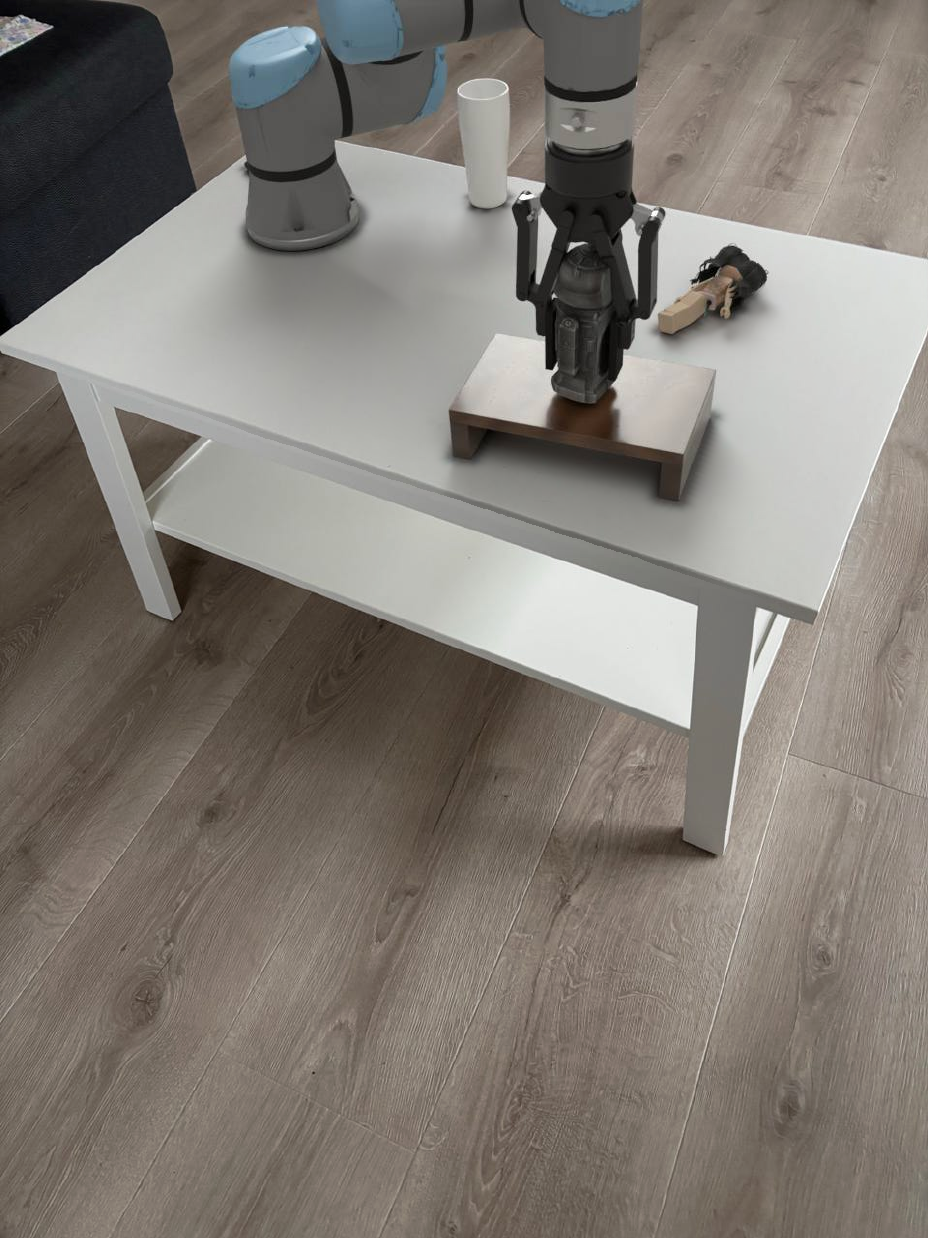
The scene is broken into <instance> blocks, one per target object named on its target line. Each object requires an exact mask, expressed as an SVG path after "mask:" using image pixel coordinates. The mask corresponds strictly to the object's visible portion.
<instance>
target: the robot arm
mask: <svg viewBox="0 0 928 1238" xmlns="http://www.w3.org/2000/svg"><path fill="white" fill-rule="evenodd" d="M643 5H644V0H316V6H317V12H318V16H319V21H320V24H321V26H322V28H323V32H324V36H325V37H321V38H320V37H319V36H318V34H317V32H316V31H315V30H314V29H313V28H310V27H308V26H304V25H294V26H292V27H289V26H287V25H285V26H281V27H276V28H272V29H269V30H266V31H263V32H261V33H258V34H256V35H254V36H252V37H250V38H248V39H247V40H246V41H245V42H243V43H242V44H241V45H239V47H238V48H237V49H236V50H235V51H234V52H233V53H232V55H231V56H230V59H229V62H228V76H229V83H230V90H231V91H230V92H231V101H232V104H233V105H234V107H235V112H236V117H237V122H238V126H239V131H240V135H241V139H242V145H243V149H244V155H245V159H246V161H245V162H244V164H243V165H244V168H246V169H247V170H248V173H249V178H248V188H247V189H248V190H247V205H246V209H245V223H246V227H247V231H248V234H249V236H250V238H251V239H252V240H253V241H254V242H256V243H257V244H259V245H261V246H263V247H266V248H269V249H274V250H278V251H287V252H288V251H290V252H293V251H306V250H312V249H317V248H322V247H324V246H327V245H330V244H333V243H335V242H337V241H339V240H341V239H343V238H345V237H346V236H348V235H349V234H350V233H351V232H352V231H353V230H354V229H355V228H356V226H357V225H358V222H359V220H360V213H359V206H358V202H357V201H358V200H357V199H356V196H355V193H354V192H353V190H352V187H351V186H350V183H349V182H348V179H347V177H346V175H345V173H344V172H343V170H342V168H341V166H340V164H339V161H338V157H337V151H336V141H337V140H340V139H341V140H342V139H344V138H348V137H349V138H350V137H353V136H357V135H362V134H366V133H371V132H374V131H379V130H383V129H388V128H391V127H396V126H400V125H404V126H405V125H410V124H413V123H414V122H415V121H417V120H421V119H424V118H428V117H429V116H431V115H433V114H435V113H436V111H438V109H439V108H440V106H441V104H442V102H443V100H444V98H445V93H446V88H447V79H448V65H447V61H446V59H445V56H446V47H445V46H448V45H451V44H455V43H460V42H467V41H471V40H476V39H481V38H484V37H489V36H494V35H497V34H502V33H506V32H510V31H516V30H519V29H527V30H529V31H530V32H532V33H533V34H534V35H535V36H536V37H537V38H539V39H540V40H543V63H544V65H543V68H544V69H543V70H544V76H543V82H544V83H543V86H544V92H543V93H544V99H543V100H544V133H545V135H546V139H545V141H544V187H543V189H542V191H541V192H536V193H532V192H531V191H530V190H522V192H520V193H519V196H518V197H516V199H515V201H514V202H513V204H512V205H511V212H512V215H513V219H514V222H515V224H516V229H517V230H516V231H517V232H516V235H517V236H516V237H517V238H516V270H515V271H516V273H515V274H516V276H515V297H516V299H517V300H518V301H520V302H526V301H527V302H529V303H531V304H532V305H533V306H534V308H535V333H536V334H537V336H538V337H539V336H540V337H544V341H545V369H546V370H552V371H553V369H554V367H555V365H556V363H557V356H556V351H555V320H556V304H557V300H558V298H557V297H556V296H555V297H553V296H554V291H553V289H554V286H555V283H556V281H557V276H558V270H559V267H560V265H561V262H562V260H563V258H564V256H565V254H566V253H567V252H568V251H569V249H570V246H571V244H572V243H574V244H576V243H586V244H591V245H595V246H597V249H598V253H599V256H600V258H602V259H603V263H604V265H606V266H607V267H608V268H610V282H611V292H612V296H613V300H614V303H615V307H616V313H615V314H614V316H613V318H612V320H611V322H610V342H609V365H608V380H610V381H616V379H617V377H618V375H619V373H620V370H621V368H622V366H623V354H624V350H627V351H629V350H630V349H631V346H632V344H633V342H634V340H635V338H636V337H635V336H636V333H635V332H636V320H638V319H640V320H641V321H647V320H649V319H650V318H651V316H652V313H653V311H654V309H655V307H656V305H657V303H658V277H659V276H658V273H659V271H658V270H659V268H658V267H659V232H660V229H661V228H662V225H663V222H664V220H665V219H666V216H667V215H666V213H667V212H666V210H665V208H663V207H661V206H656V207H654V208H653V209H650V208H648V207H646V206H644V205H641V204H639V203H638V201H637V197H636V195H635V193H634V191H633V176H634V156H635V138H634V136H633V134H634V133H635V130H636V126H637V125H636V123H637V121H636V120H637V101H638V100H637V98H638V74H639V66H640V65H639V64H640V49H641V35H642V34H641V33H642V21H643V20H642V19H643V7H644V6H643ZM542 209H543V211H544V212H545V214H546V215H547V216H548V218H549V220H550V221H551V223H552V224H553V226H554V227H555V229H556V230H555V233H554V237H553V239H552V243H551V246H550V251H549V254H548V258H547V260H546V264H545V267H544V270H543V273H542V277H541V279H540V283H537V265H538V245H539V244H538V243H539V242H538V241H539V217H540V215H541V214H542ZM630 219H631V220H632V221H633V223H634V231H635V233H636V235H637V236H638V237H639V240H638V244H637V296H636V291H635V288H634V284H633V280H632V276H631V272H630V268H629V264H628V259H627V256H626V252H625V247H624V245H623V238H624V237H623V232H622V228H623V227H624V226H625V225H626V224H627V222H628V221H629V220H630Z"/></svg>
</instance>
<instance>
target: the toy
mask: <svg viewBox="0 0 928 1238" xmlns="http://www.w3.org/2000/svg"><path fill="white" fill-rule="evenodd" d="M553 291H554V293H553V295H555V298H558V300H557V304H556V320H555V351H556V356H557V362H558V364H557V367H558V370H557V371H556V372H555V373H554V374H553V376H552V377H551V385H552V388H553V391H555V392H556V393H558V394H559V395H561V396H564V397H566V398H569V399H572V400H575V401H578V402H583V403H596V402H597V401H598V399H599V398H600V397H601V396H602V395H603V394H604V393H605V392H606V389H608V388H609V387H610V386H611V385H612V384H613V383H614V382H615V381H610V380H608V365H609V342H610V322H611V320H612V318H613V316H614V314H615V313H616V307H615V303H614V300H613V296H612V292H611V282H610V268H608V267H607V266H606V265H604V263H603V259H602V258H600V256H599V253H598V249H597V246H595V245H591V244H588V243H586V242H584V243H582V244H579V245H576V246H574V247H573V248H571V249H570V250H568V252H567V253H566V254H565V256H564V258H563V260H562V262H561V265H560V267H559V270H558V276H557V281H556V283H555V286H554V289H553ZM617 378H618V377H617Z"/></svg>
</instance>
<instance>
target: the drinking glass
mask: <svg viewBox="0 0 928 1238" xmlns="http://www.w3.org/2000/svg"><path fill="white" fill-rule="evenodd" d="M456 96H457V97H456V99H457V100H456V101H457V102H456V103H457V104H456V105H457V107H456V108H457V119H458V129H459V137H460V143H461V149H462V155H463V162H464V169H465V176H466V177H465V178H466V182H467V183H466V184H467V195H468V196H467V197H468V201H469V202H470V204H471V205H472V206H474V207H476V208H479V209H494V208H497V207H500V206H502V205H503V204H505V202H506V201H507V199H508V173H509V172H508V171H509V154H510V153H509V152H510V151H509V149H510V136H511V135H510V133H511V99H510V88H509V85H508V84H507V83H506V82H504V81H503V80H500V79H496V78H484V77H483V78H475V79H471V80H468V81H466V82H464V83H462V84H461V85H459V86H458V88H457V90H456Z"/></svg>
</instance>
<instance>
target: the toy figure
mask: <svg viewBox="0 0 928 1238" xmlns="http://www.w3.org/2000/svg"><path fill="white" fill-rule="evenodd" d="M717 253H718V254H716V255H715V256H714V257H713V256H709V258H708V259H705V260H704V261H703V263H701V264H700V265H699V267H698V268H699V271H698V272H697V274H696V275H695V277H694V278H691V279H690V280H689V282H690V284H691V288H690V290H689V291H687V292H686V293H685V294H684V295H683V296H678V297H676V298H675V300H674V301H673V303H674V304H671V305H669V306H667V307H665V308H664V309H663V310H660V311H659V312H658V313H657V320H658V321H657V322H658V331H659V332H661V333H662V332H663V333H666V334H669V335H674V333H676V332H677V331H680V330H682V329H685V328H686V327H688V326H691V325H692V324H693V323H694V322H696V321H697V320H698V319H699V318H700V317H701V316H702V315H703V316H704V317H705V316H706V315H707V313H708V312H709V310H710V311H715V310H716V308H717V306H718V305H720V304H721V303H723V302H724V306H722V307H720V308H719V310H718V311H717V313H718V314H720V317H721V318H722V317H724V320H727V319H729V318H730V316H731V314H732V313H733V312H734V311H738V310H739V308H740V307H742V306H743V303H744V301H745V299H746V298H748V297H749V296H751V295H752V294H754V293H755V294H757V293H758V292H760V291H761V290H762V289H763V288H764V286H765V284H766V283H767V281H768V276H767V275H768V274H770V273H769V271H768V270H767V269H765V268H764V267H763V266H762V265H761V264H760V263H759V262H756V261H755V260H751V258H750V256H749V255H748V254H746V253H745V252H744V250H743V249H742V248H741V247H739V246H737V244H736V243H734V244H733V242H731V243H728V245H726V246H724V247H722V248H721V249H720V250H719V252H717ZM707 265H708V266H707ZM702 267H703V269H702ZM694 284H695V285H694ZM693 285H694V286H693ZM759 289H760V290H759Z"/></svg>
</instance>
